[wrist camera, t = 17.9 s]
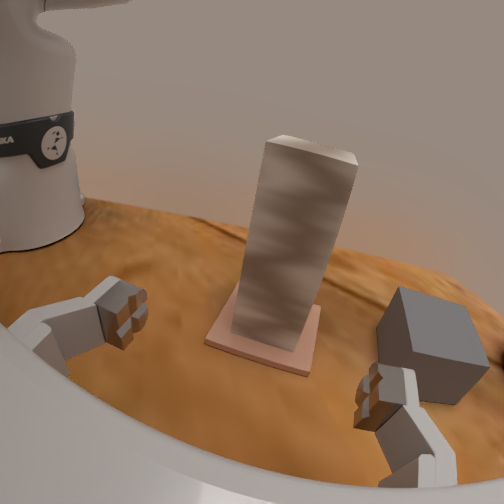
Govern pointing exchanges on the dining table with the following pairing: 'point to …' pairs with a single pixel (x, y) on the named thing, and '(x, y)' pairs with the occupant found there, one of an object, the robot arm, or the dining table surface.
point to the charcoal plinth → (432, 345)
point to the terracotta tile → (260, 351)
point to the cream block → (290, 237)
